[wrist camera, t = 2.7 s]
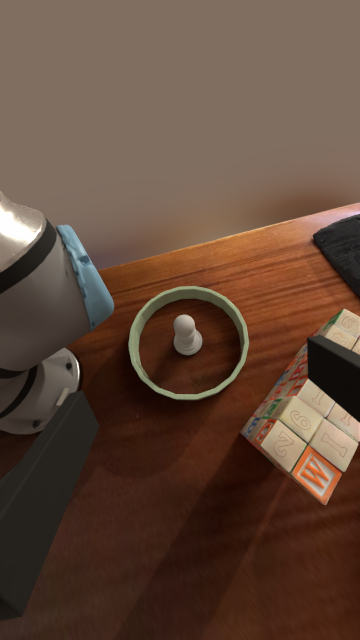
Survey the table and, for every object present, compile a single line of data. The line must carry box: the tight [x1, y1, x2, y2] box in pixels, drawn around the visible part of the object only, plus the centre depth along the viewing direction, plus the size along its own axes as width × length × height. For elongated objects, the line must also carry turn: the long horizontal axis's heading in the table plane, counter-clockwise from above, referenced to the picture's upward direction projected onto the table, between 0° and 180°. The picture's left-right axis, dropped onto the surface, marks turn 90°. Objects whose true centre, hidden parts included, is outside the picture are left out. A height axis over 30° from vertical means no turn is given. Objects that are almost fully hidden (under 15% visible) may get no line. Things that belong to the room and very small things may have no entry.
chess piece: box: [174, 315, 202, 355], centre depth 32 cm, size 5×5×9 cm
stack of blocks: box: [240, 309, 360, 505], centre depth 25 cm, size 21×6×12 cm, turn 137°
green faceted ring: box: [128, 286, 249, 401], centre depth 35 cm, size 20×20×4 cm
